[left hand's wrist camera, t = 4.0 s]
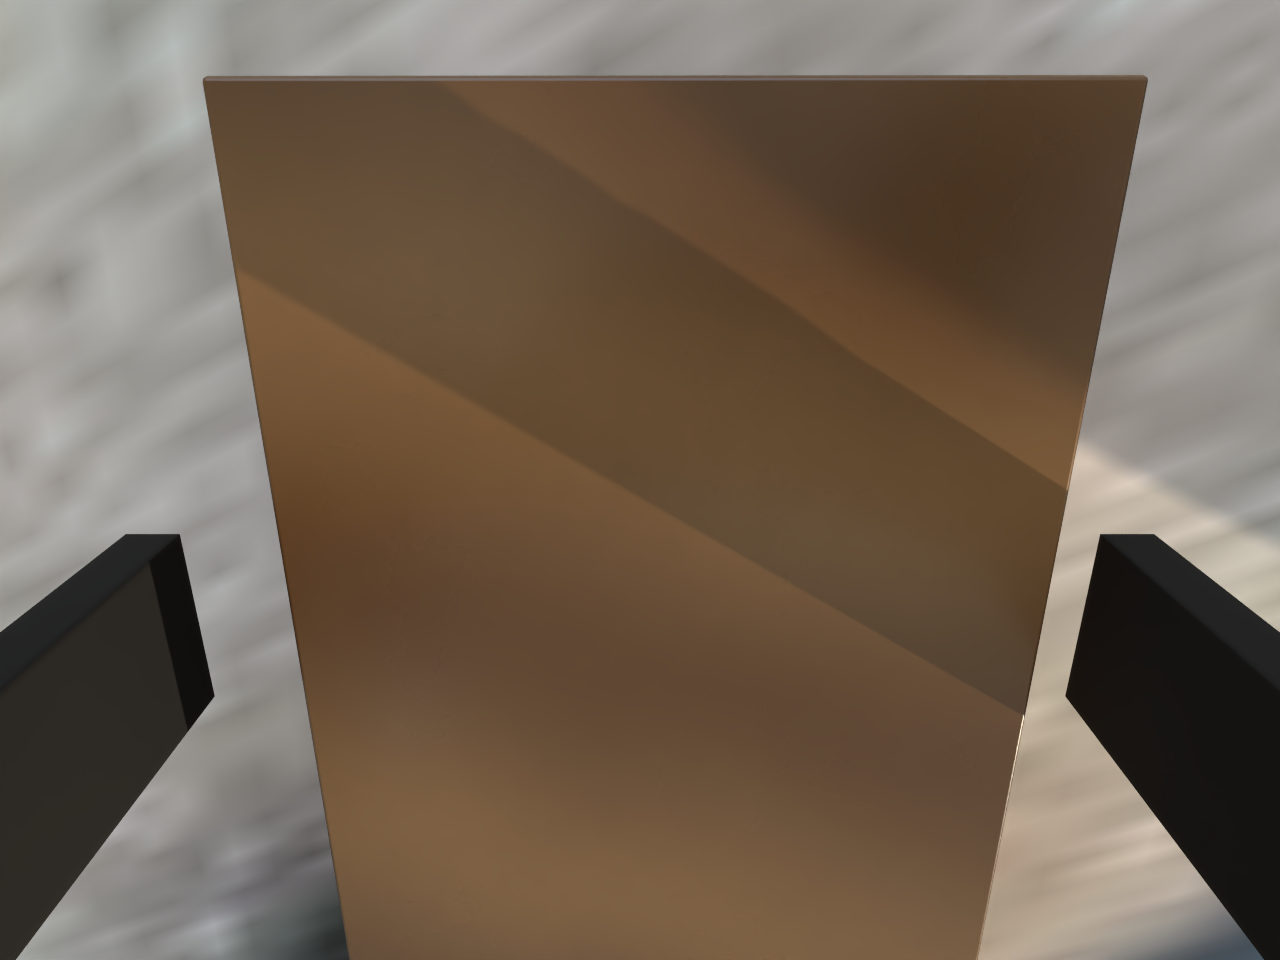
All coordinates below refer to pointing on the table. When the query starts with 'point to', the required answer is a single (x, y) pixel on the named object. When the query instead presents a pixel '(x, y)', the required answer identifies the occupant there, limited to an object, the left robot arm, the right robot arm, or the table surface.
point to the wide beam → (669, 487)
